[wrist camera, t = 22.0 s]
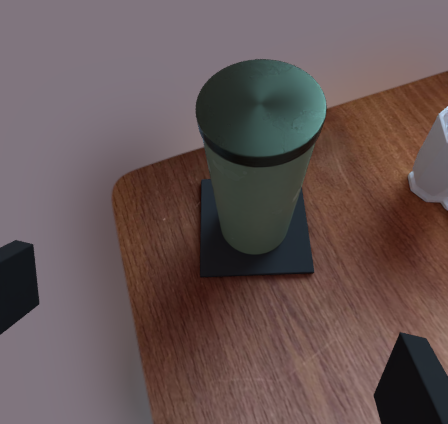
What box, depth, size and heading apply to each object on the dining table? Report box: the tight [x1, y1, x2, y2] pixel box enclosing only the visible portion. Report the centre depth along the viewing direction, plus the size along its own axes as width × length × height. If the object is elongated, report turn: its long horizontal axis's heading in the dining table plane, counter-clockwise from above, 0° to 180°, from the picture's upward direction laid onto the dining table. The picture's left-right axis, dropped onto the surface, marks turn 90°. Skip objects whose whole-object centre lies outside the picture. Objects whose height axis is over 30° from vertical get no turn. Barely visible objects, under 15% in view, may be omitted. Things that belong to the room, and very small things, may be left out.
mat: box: [200, 179, 314, 277], centre depth 29 cm, size 10×10×1 cm
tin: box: [196, 59, 327, 254], centre depth 22 cm, size 7×7×15 cm
